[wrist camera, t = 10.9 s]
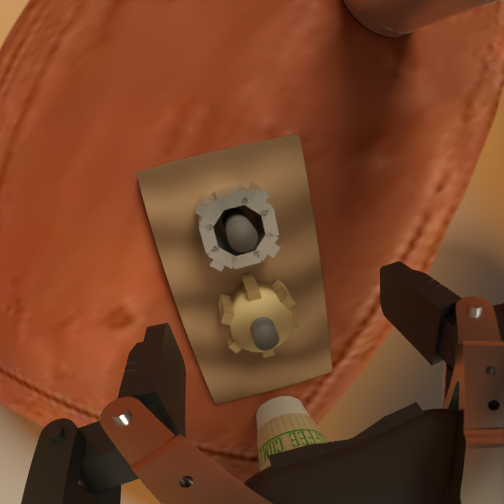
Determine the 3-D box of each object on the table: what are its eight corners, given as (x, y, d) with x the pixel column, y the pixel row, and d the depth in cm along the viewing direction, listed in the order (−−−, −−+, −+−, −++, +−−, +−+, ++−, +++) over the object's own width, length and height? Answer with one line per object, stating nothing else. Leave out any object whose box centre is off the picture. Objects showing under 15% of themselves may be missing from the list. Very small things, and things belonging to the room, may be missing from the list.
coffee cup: (293, 372, 35) (337, 473, 21) (327, 410, 39) (369, 495, 25) (226, 411, 36) (243, 514, 22) (268, 443, 39) (292, 530, 25)
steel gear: (193, 196, 26) (192, 203, 22) (258, 180, 26) (268, 184, 23) (210, 257, 28) (212, 275, 24) (271, 242, 28) (283, 256, 24)
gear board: (139, 171, 26) (118, 178, 19) (293, 134, 27) (325, 130, 20) (214, 395, 35) (219, 443, 28) (327, 364, 36) (352, 405, 29)
